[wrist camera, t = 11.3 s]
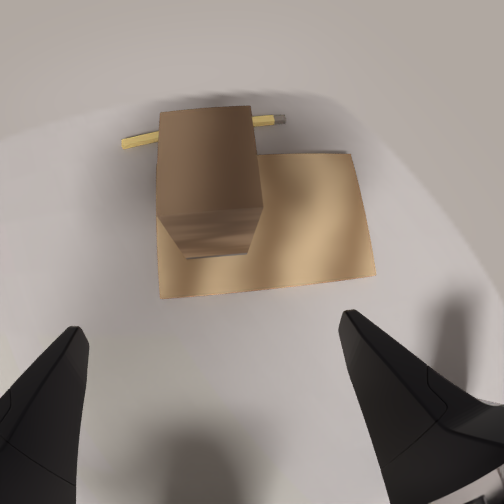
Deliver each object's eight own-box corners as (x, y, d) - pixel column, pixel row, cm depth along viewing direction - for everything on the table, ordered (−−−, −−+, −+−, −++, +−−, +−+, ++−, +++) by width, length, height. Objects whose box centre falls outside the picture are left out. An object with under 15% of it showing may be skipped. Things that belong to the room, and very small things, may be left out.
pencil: (123, 149, 24) (121, 145, 24) (123, 143, 24) (121, 139, 24) (284, 124, 26) (286, 119, 25) (283, 118, 26) (284, 114, 26)
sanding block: (186, 259, 22) (156, 215, 12) (183, 190, 23) (160, 112, 13) (246, 254, 22) (263, 207, 12) (240, 186, 23) (250, 105, 14)
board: (162, 298, 22) (160, 298, 21) (158, 168, 24) (156, 163, 23) (372, 276, 24) (376, 274, 23) (347, 158, 26) (350, 153, 25)
